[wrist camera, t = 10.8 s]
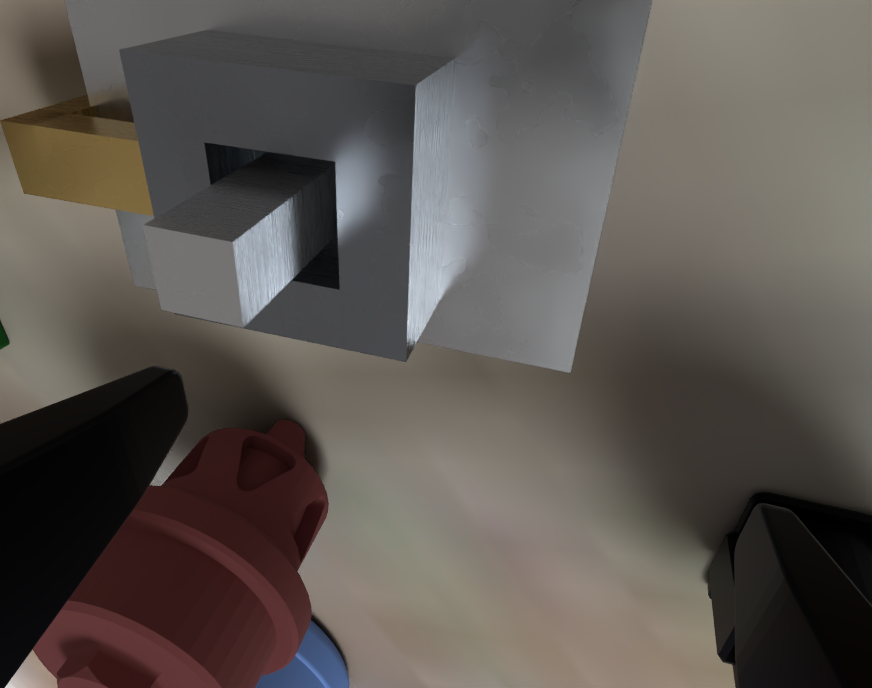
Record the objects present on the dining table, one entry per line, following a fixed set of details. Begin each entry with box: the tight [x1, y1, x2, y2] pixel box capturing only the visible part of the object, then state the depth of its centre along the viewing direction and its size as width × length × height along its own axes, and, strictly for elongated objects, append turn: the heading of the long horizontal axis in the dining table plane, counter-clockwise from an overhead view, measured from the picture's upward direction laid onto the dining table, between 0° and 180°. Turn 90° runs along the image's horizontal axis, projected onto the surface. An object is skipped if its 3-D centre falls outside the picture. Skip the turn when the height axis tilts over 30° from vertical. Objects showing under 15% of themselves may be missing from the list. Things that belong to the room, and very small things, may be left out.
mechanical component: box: [33, 419, 329, 688], centre depth 26 cm, size 12×10×10 cm
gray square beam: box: [143, 152, 338, 328], centre depth 18 cm, size 2×2×8 cm
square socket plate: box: [0, 0, 652, 373], centre depth 20 cm, size 19×12×5 cm, turn 87°
